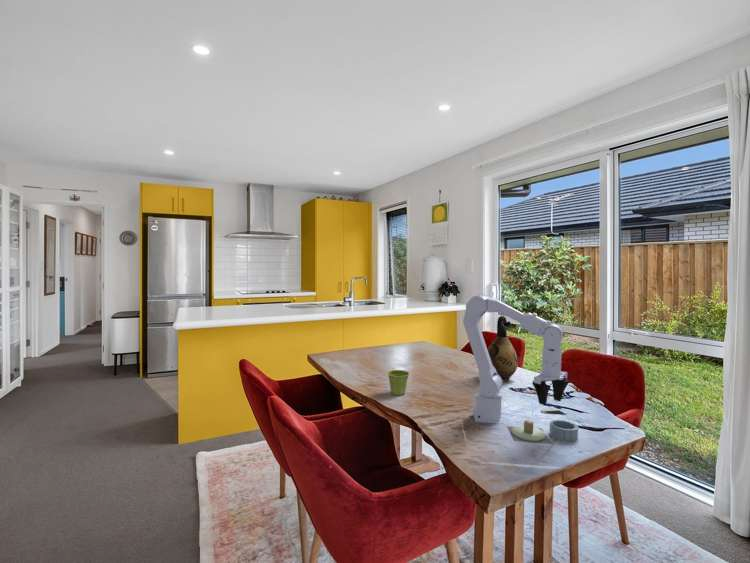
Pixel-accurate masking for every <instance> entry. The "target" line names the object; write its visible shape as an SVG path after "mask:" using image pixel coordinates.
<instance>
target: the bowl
mask: <svg viewBox="0 0 750 563" xmlns="http://www.w3.org/2000/svg"><path fill="white" fill-rule="evenodd" d="M548 434H549V435H550V436H551V437H552V438H554V439H556V440H560V441H564V442H574V441H575V442H576V441H577V440H578V439H579V426H578V425H577V424H576V423H573V422H571V421H568V420H563V419H554V420H551V421H550V422H549V432H548Z"/></svg>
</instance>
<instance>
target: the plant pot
mask: <svg viewBox="0 0 750 563" xmlns="http://www.w3.org/2000/svg"><path fill="white" fill-rule="evenodd" d="M410 373H411V372H409V371H406V370H402V369H394V370H393V369H392V370H390V371H387V373H386V374H387V376H388V380H389V388H390V394H392V395H394V396H402V395H405V394H406V391H407V384H408V380H409V376H410V375H411V374H410Z"/></svg>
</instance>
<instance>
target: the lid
mask: <svg viewBox="0 0 750 563" xmlns="http://www.w3.org/2000/svg"><path fill="white" fill-rule="evenodd" d="M523 423H524V424H523V425H516V426H512V427H513V428H512V434H513V435H514V436H516V437H517V438H520V439H523V440H527V441H542V440H544V439H545V434H546V432H545V431H544V430H543V429H542V430H543V431H544V432H543V431H542V430H540V429H541V428H540V429H538V428H539V427H534V421H533V420H528V419H527V420H524V421H523Z"/></svg>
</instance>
